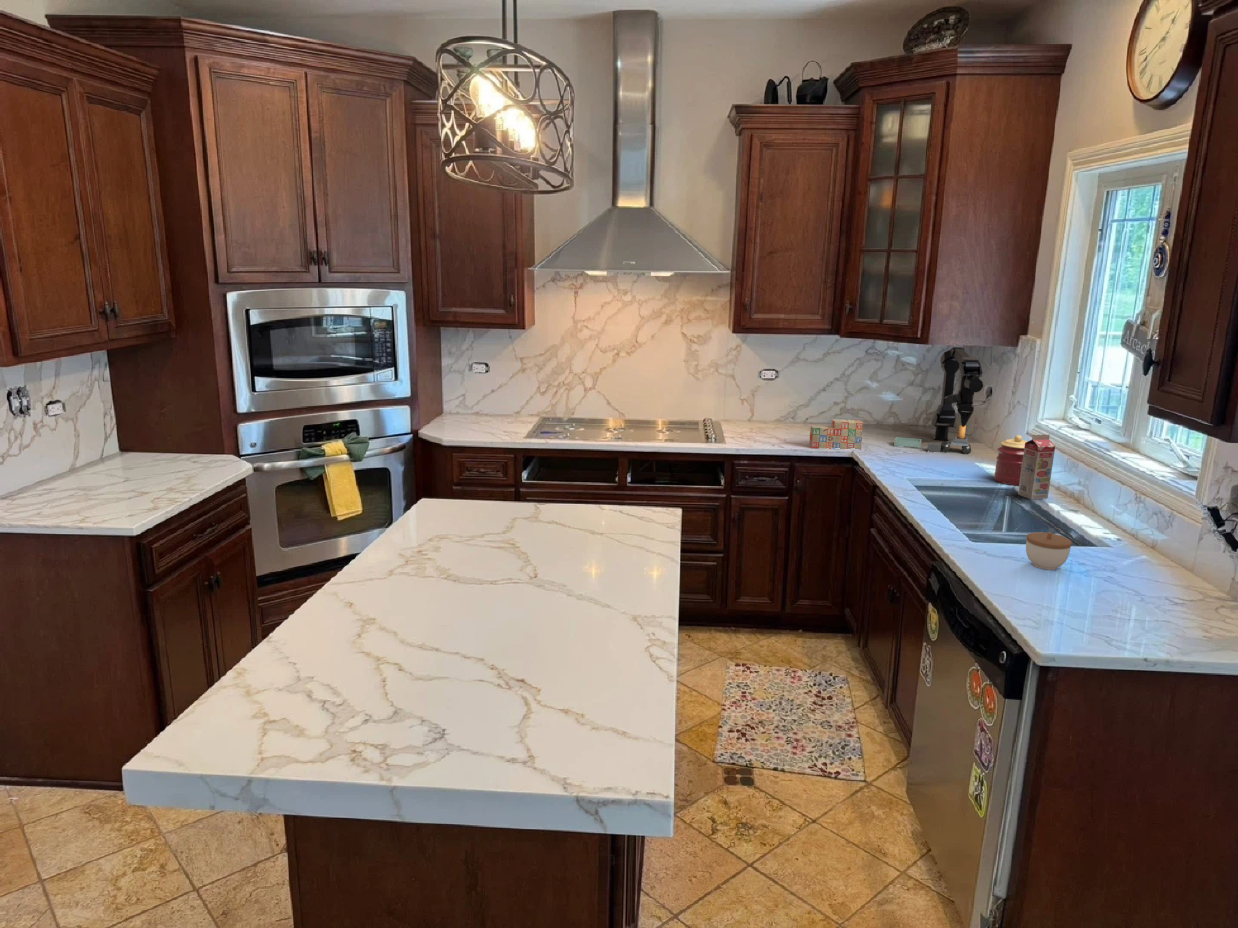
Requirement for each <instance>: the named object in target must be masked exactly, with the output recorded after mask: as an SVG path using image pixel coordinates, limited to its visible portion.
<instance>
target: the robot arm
mask: <svg viewBox="0 0 1238 928" xmlns="http://www.w3.org/2000/svg"><path fill="white" fill-rule="evenodd" d="M939 362H940V368H941V369H942V371H943V380H942V390H941V399H940V400H941V401H940V405H939V406H938V407H937V409H936V410H935V411H936V413H935V414H934V416H933V418H932V421H931V425H932V426H933V427H934V428H935V432H934V436H933V440H935V441H948V442H950V441H949V440H950V437H949V431H950V428H954V426H955V422H956V419H957V417H956V410H955V409H954V407H953V404H956V408H957V413H959V415H960V423H961V424H960V425H962V427H965V426H967V424H968V421H969V420H970V418H971V416H972V415H973V412H974V410H975V406H974V405H973V404H974V395H975V393H979V392H981V390H983V387H984V383H983V381H982V380H981V379H980V378H981V377H983V368H982V365H981V362H980V361H979V359H977V358H974V357H971V356H970V355H969V354H968V353H967V352H966V350H965V347H962V346H960V347H959V346H953V347H951V348H950V349H948V350H947V351H944V352H943V353H942V355H941V356H940V361H939ZM958 371H960V377H961V378H960V383H959V384H960V385H959V390H958V393H954V389H955V388H954V387H955V377H956V373H957V372H958Z"/></svg>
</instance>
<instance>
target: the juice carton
mask: <svg viewBox="0 0 1238 928" xmlns="http://www.w3.org/2000/svg"><path fill="white" fill-rule="evenodd" d="M1031 437H1032V439H1030V440H1027V441H1028V442H1026V443H1025V447H1024V454H1023V462H1022V469H1021V476H1020V483H1019V485H1018V486H1019V487H1018V492H1017V493H1018V494H1017V495H1019V496H1021V497H1024V498H1026V499H1030V500H1042V499H1041V498H1049V492H1050V483H1051V478H1052V477H1051V476H1052V472H1053V464H1054V458H1055V452H1056V445H1055V444H1054V443H1053V442H1052V440H1050V434H1033V435H1032V436H1031Z"/></svg>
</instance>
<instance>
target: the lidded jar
mask: <svg viewBox="0 0 1238 928" xmlns="http://www.w3.org/2000/svg"><path fill="white" fill-rule="evenodd" d="M1025 539H1026V543H1025V552H1026V557H1027V558H1028V560H1029V561H1030V562H1031V564H1032V566H1033V567H1036V568H1038V569H1039V570H1040V569H1041V570H1047V571H1056V570H1058V569H1059V568H1060V567H1061V566H1063V565H1064V564H1065V563H1066V562H1067V560H1068V558H1069V555H1070V552H1071V548H1072V544H1073V543H1072V540H1071V539H1069V538H1067V537H1066V536H1062V535H1060V534H1056V533H1053V532H1051V531H1048V532H1041V531H1039V532H1029V533H1028V534H1026V538H1025Z"/></svg>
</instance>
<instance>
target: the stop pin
mask: <svg viewBox="0 0 1238 928" xmlns="http://www.w3.org/2000/svg"><path fill="white" fill-rule="evenodd" d="M966 428H967V425H965V427H962V424H960V425H959V428H958V435H957V437H958V438H959V439H965V437H966Z"/></svg>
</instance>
